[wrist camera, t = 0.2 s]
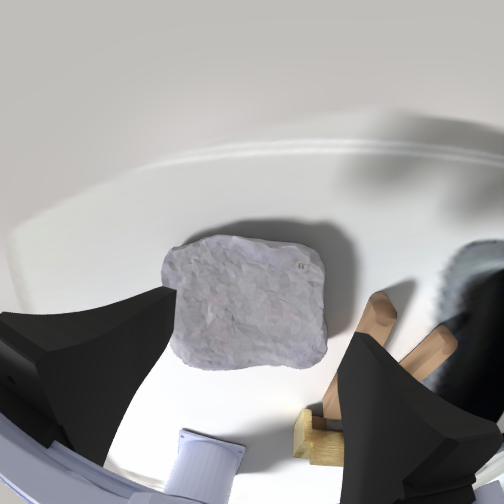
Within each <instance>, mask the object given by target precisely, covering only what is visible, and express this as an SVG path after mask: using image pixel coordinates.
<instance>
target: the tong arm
mask: <svg viewBox="0 0 504 504" xmlns="http://www.w3.org/2000/svg"><path fill="white" fill-rule="evenodd" d="M457 346H458V341H457V340H456V338H455V337H454V336H453V334H452V333H451V332H450V331H449V329H448V328H447V327H446V326H445V325H440V326H438V327H436V328H435V329H434V330H433V331H432V332H431V333H430V335H429V336H428V337H426V338H425V339H424V340H423V341H422V342H421V343H420V344H419V345H418V346H417V347H416V348H415V349H414V350H413V351H412V352H411V353H410V354H409V355H408V356H407V357H405V358H404V359H403V360H402V361H401V362H400V363H399V364H400V365H401V366H402V367H403V368H404V369H405V370H406V371H407V372H409V373H410V374H411V375H412V376H413V377H414V378H415V379H416V380H418V381H419V382H421V381H423V380H424V379H425V378H426V377H427V376H428V375H429V374H431V373H432V372H433V371H434V370H435V369H436V368H437V367H438V366H439V365H440V364H441V363H443V362H444V361H445V360H446V359H447V358H448V357H449V356H450V355H451V354H452V353H453V352H454V351H455V350H456V348H457Z"/></svg>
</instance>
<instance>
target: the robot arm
mask: <svg viewBox="0 0 504 504" xmlns="http://www.w3.org/2000/svg"><path fill="white" fill-rule="evenodd" d="M176 297H177V290H175V289H172V288H168V287H165V286H162V287H158V288H155V289H152V290H150V291H147V292H144V293H142V294H139V295H136V296H134V297H131V298H128V299H125V300H122V301H119V302H116V303H113V304H110V305H107V306H103V307H99V308H95V309H90V310H85V311H80V312H72V313H63V314H47V315H36V314H20V313H11V312H2V313H1V314H0V480H1V481H2V482H3V483H4V484H5V485H6V486H8V487H9V488H10V489H11V490H12V491H13V492H15V493H16V494H17V495H18V496H19V497H21V498H22V499H23V500H24V501H26V502H27V503H28V504H228V501H229V497H230V492H231V488H232V484H233V479H234V476H235V474H236V472H237V470H238V467H239V465H240V463H241V460H242V458H243V456H244V453H245V451H246V447H244V446H241V445H236V444H232V443H228V442H224V441H220V440H216V439H212V438H208V437H205V436H201V435H198V434H194V433H191V432H188V431H185V430H180V431H179V439H178V456H177V459H176V461H175V464H174V466H173V469H172V471H171V474H170V476H169V479H168V481H167V484H166V486H165V489H164V491H163V493H162V492H159V491H156V490H154V489H151V488H148V487H146V486H143V485H141V484H138V483H136V482H133V481H131V480H129V479H126V478H124V477H122V476H120V475H117V474H115V473H113V472H111V471H109V470H107V469H105V468H103V465H104V462H105V460H106V457H107V454H108V451H109V449H110V446H111V444H112V442H113V439H114V437H115V434H116V432H117V430H118V427H119V425H120V423H121V421H122V419H123V417H124V414H125V412H126V410H127V408H128V406H129V404H130V402H131V400H132V399H133V397H134V395H135V393H136V391H137V390H138V388H139V387H140V385H141V384H142V382H143V381H144V379H145V378H146V376H147V375H148V374H149V372H150V371H151V369H152V368H153V366H154V365H155V364H156V362H157V361H158V359H159V358H160V356H161V355H162V353H163V352H164V350H165V348H166V346H167V344H168V342H169V340H170V338H171V336H172V334H173V332H174V321H175V308H176ZM337 390H338V398H339V405H340V412H341V419H342V426H343V433H344V468H343V481H342V490H341V497H340V504H504V493H503V490H502V487H501V485H500V482H499V480H496V481H494V482H491V483H489V484H486V485H483V486H481V487H479V488H477V489H475V490H474V491H473V488H472V484H474V483H475V482H476V477H475V473H476V472H477V471H478V470H479V469H480V468H481V467H482V466H484V465H485V464H486V463H487V462H488V461H489V460H490V459H491V458H492V457H493V456H494V455H495V454H496V453H497V451H498V450H499V448H500V447H501V445H502V442H503V435H502V433H501V432H500V430H499V428H498V426H497V424H496V423H494V422H491V421H488V420H486V419H483V418H480V417H477V416H475V415H472V414H470V413H468V412H466V411H464V410H462V409H460V408H458V407H456V406H454V405H452V404H450V403H449V402H447V401H445V400H444V399H442V398H441V397H439V396H438V395H436V394H435V393H433V392H432V391H430V390H429V389H428V388H427V387H425V386H424V385H423V384H421V383H420V382H419V381H418V380H416V379H415V378H414V377H413V376H412V375H411V374H410V373H409V372H407V371H406V370H405V369H404V368H403V367H402V366H401V365H400V364H399V363H398V362H397V361H396V360H395V359H394V358H393V357H392V356H391V355H390V354H389V353H388V352H387V351H386V350H385V349H384V348H383V347H382V346H381V345H380V344H379V343H378V342H377V341H376V340H375V339H374V338H373V337H372V336H371V335H369V334H367V333H362V332H356V331H355V332H354V335H353V337H352V339H351V341H350V344H349V346H348V348H347V350H346V353H345V355H344V357H343V359H342V361H341V363H340V365H339V367H338V369H337Z"/></svg>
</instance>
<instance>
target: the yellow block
mask: <svg viewBox="0 0 504 504" xmlns="http://www.w3.org/2000/svg"><path fill="white" fill-rule="evenodd" d="M293 457H296V458H305V459H310V465H322V466H340V467H344V433H343V432H334V431H324V430H316V429H312V413H311V410H309V409H303V411H302V412H301V414H300V416H299V418H298V420H297V422H296V424H295V426H294V443H293Z"/></svg>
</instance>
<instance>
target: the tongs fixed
mask: <svg viewBox="0 0 504 504" xmlns="http://www.w3.org/2000/svg"><path fill="white" fill-rule="evenodd" d="M396 318H397V312H396V310H395V308H394V307H393V305H392V304H391V302H390V300H389V299H388V297H387V296H386V294H385V293H383V292H376V293H374V294H372V295H371V297H370V298H369V300H368V303H367V305H366V308H365V310H364V313H363V315H362V317H361V320H360V322H359V324H358V327H357V329H356V332H362V333H367V334H369V335H371V336H372V337H373V338H374V339H375V340H376V341H377V342H378V343H379V344H380V345H381V346H382V347H383V346H384V344H385V342H386V340H387V338H388V336H389V334H390V331H391V329H392V327H393V325H394V323H395V321H396ZM323 413H324V417H319V416H313V417H312V429H316V430H324V431H334V432H343V426H342V419H341V412H340V405H339V398H338V390H337V372H336V374H335V376H334V378H333V380H332V382H331V384H330V386H329V388H328V389H327V391H326V393H325V395H324V397H323Z"/></svg>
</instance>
